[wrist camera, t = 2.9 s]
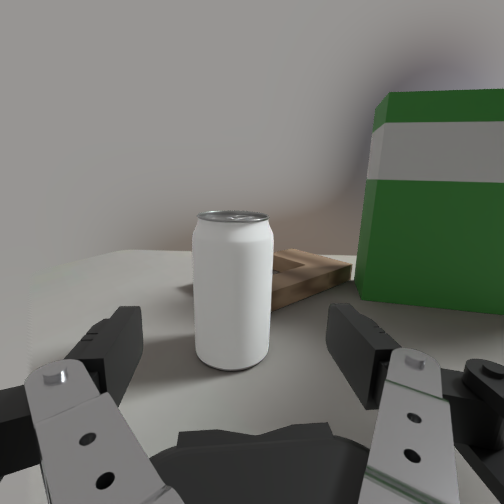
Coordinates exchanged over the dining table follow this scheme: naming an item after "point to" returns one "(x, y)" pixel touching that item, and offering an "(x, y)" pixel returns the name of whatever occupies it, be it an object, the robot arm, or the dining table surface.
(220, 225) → the can
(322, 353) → the dining table surface
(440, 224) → the hardback book
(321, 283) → the notched board
